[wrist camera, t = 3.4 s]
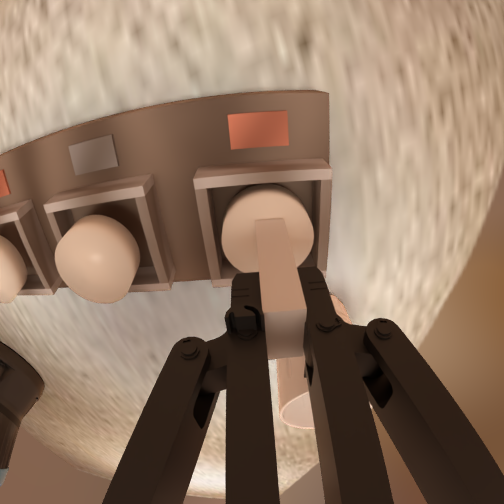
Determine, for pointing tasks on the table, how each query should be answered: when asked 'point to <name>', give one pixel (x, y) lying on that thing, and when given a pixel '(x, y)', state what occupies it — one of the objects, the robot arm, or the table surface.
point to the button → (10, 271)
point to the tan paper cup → (299, 385)
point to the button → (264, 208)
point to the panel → (168, 182)
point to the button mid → (98, 259)
